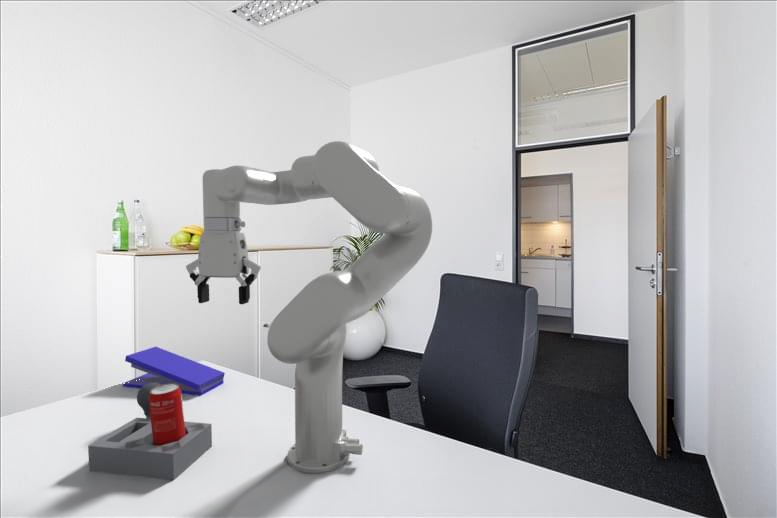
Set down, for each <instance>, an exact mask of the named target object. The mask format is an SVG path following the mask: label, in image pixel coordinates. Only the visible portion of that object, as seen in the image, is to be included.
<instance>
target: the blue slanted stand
mask: <svg viewBox="0 0 777 518" xmlns="http://www.w3.org/2000/svg"><path fill="white" fill-rule="evenodd" d="M124 362H126V363H129V364H131V365H130V367H131V368H133V369H135V370H139V371H142V372H144V373H145V374H141V375H140V376H137V377H135V378H132V379H130V380H128V381H125V382H124V383H125V384H123V383H122V387H124V388H132V389H139V390H140V389H141V388H142V387H143V386H144V385H146V384H148V383H159V384H161V385H163V384H169V383H175V384H178V386H179V388H180V390H181V394H183V395H184V394H185V395H192V396H203V395H205V394H207V393H209V392H211V391H212V390H214V389H216V388H217V387H220V386H221V385H223V384H224V378H225V374H226V373H225V372H224V371H221V370H219V369H216V368H213V367H211V366H208V365H205V364H203V363H200V362H198V361H194V360H192V359H189V358H187V357H185V356H183V355H182V356H181V355H179V354H176V353H174V352H171V351H168V350H166V349H163V348H161V347H158V346H153V347H150V348H147V349H144V350H140V351H138V352H134V353H131V354H128V355H127V354H126V355H125V361H124ZM139 379H140V380H139ZM136 380H137V381H136ZM128 382H129V383H128Z"/></svg>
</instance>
